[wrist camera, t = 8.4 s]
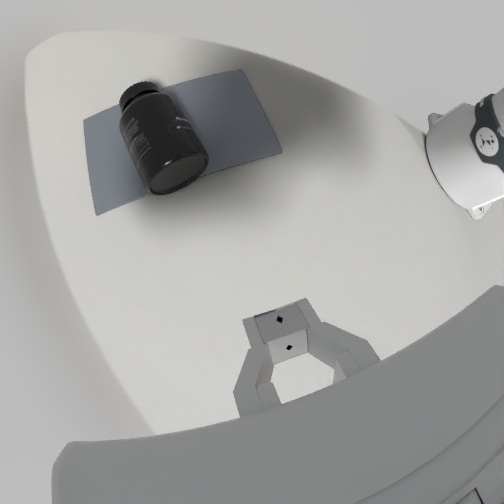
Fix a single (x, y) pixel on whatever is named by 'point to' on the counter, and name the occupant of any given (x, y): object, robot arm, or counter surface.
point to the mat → (202, 121)
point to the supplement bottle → (160, 139)
